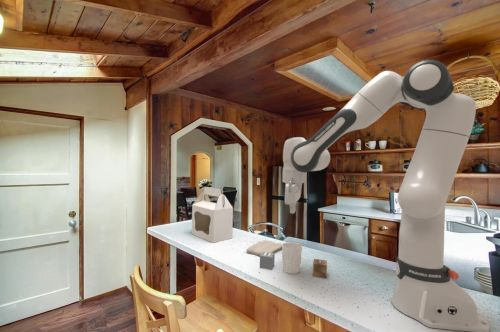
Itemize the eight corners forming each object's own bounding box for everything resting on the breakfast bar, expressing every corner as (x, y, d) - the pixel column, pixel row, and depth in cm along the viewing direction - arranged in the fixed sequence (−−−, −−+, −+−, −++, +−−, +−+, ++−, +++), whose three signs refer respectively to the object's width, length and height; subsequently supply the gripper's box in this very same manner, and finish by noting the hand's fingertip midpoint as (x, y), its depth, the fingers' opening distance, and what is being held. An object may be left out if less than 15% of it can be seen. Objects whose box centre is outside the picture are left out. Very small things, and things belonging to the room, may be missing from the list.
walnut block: (326, 273, 96) (326, 259, 96) (326, 278, 92) (326, 264, 92) (313, 271, 98) (313, 258, 98) (312, 276, 93) (313, 262, 93)
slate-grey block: (274, 265, 103) (274, 252, 103) (271, 270, 98) (271, 257, 98) (262, 263, 104) (263, 251, 104) (259, 268, 100) (259, 255, 100)
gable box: (232, 238, 138) (233, 188, 137) (213, 243, 128) (214, 190, 128) (209, 230, 154) (210, 185, 153) (191, 234, 144) (192, 186, 144)
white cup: (301, 275, 94) (302, 249, 93) (280, 273, 95) (281, 247, 95) (301, 267, 101) (301, 243, 101) (282, 265, 103) (282, 241, 103)
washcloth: (285, 248, 124) (285, 242, 124) (267, 260, 109) (267, 253, 109) (264, 244, 131) (265, 238, 131) (245, 254, 116) (246, 247, 116)
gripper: (298, 180, 87) (297, 218, 87) (304, 177, 106) (303, 208, 107) (280, 179, 89) (280, 217, 89) (289, 176, 108) (288, 207, 108)
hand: (292, 212), depth 98 cm, fingers closed
